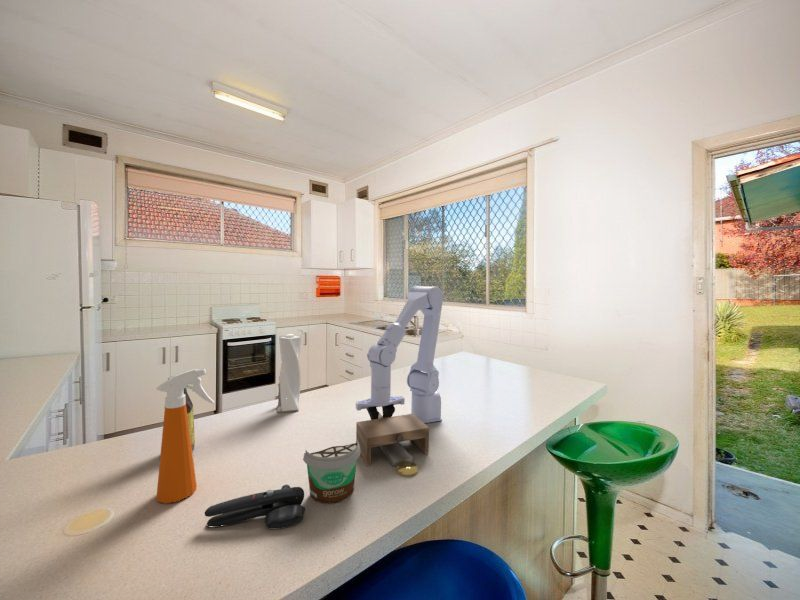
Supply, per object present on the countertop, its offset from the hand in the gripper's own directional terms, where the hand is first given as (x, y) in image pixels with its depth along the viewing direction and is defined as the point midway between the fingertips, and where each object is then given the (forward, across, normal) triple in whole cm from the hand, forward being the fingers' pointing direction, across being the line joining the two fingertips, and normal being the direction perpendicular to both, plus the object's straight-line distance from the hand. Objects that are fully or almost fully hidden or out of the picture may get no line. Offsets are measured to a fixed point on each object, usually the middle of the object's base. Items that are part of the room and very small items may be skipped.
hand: (380, 430), depth 99 cm
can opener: (+2, +33, +25) cm, 42 cm away
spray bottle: (+2, +47, +10) cm, 48 cm away
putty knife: (+1, 0, +6) cm, 6 cm away
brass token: (+2, 0, +20) cm, 20 cm away
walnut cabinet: (+1, 0, +10) cm, 10 cm away
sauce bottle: (+2, +52, -10) cm, 53 cm away
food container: (+2, +18, +24) cm, 30 cm away
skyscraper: (+2, +23, -30) cm, 38 cm away
